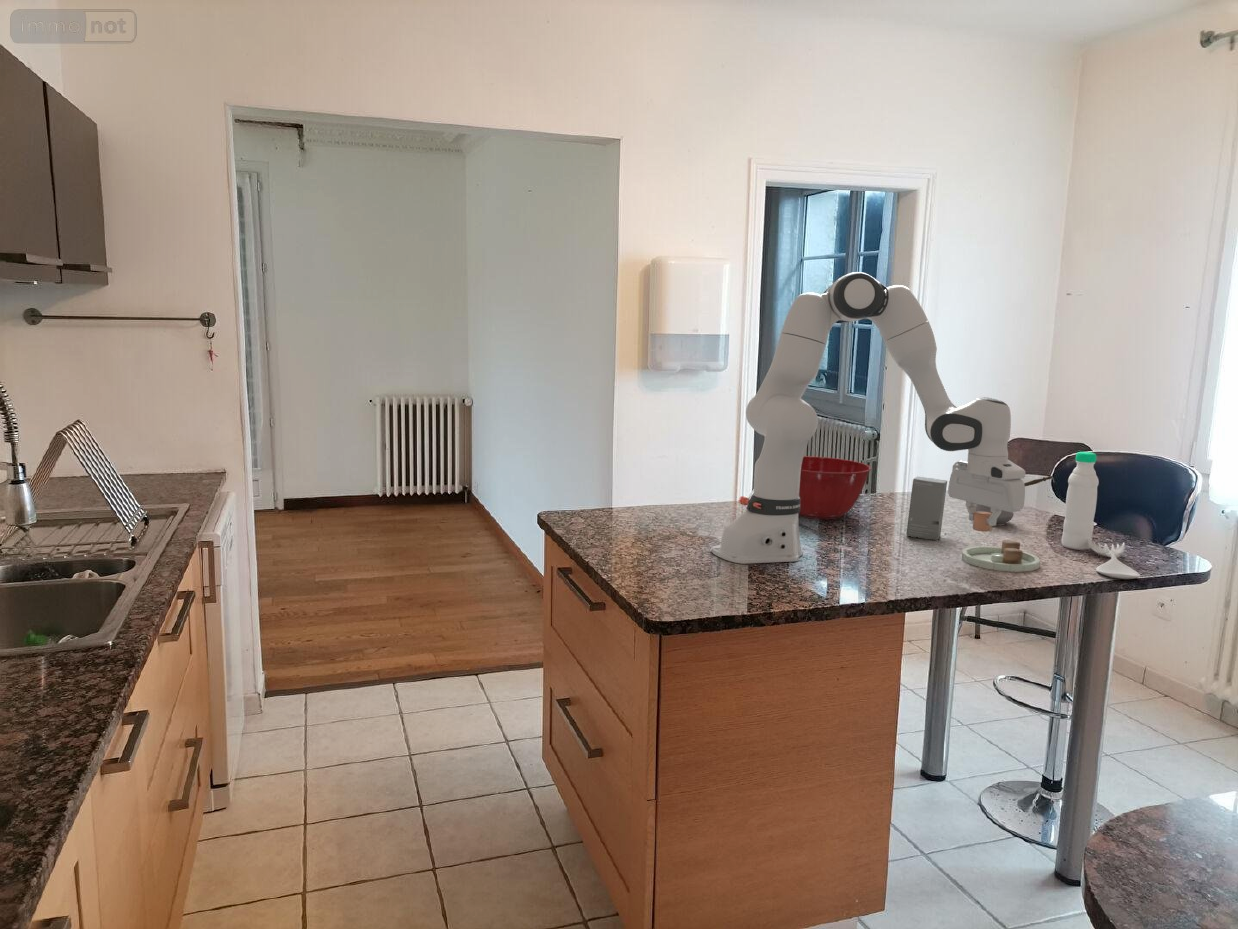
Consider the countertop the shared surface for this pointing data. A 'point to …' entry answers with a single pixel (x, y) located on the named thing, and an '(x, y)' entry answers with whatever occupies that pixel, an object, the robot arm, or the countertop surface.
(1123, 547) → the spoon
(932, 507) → the skincare box
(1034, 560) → the groove tray
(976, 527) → the loose bead
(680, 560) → the countertop surface
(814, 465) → the mixing bowl
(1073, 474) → the milk bottle
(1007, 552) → the seated bead
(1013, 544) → the seated bead
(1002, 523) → the coffee pot
